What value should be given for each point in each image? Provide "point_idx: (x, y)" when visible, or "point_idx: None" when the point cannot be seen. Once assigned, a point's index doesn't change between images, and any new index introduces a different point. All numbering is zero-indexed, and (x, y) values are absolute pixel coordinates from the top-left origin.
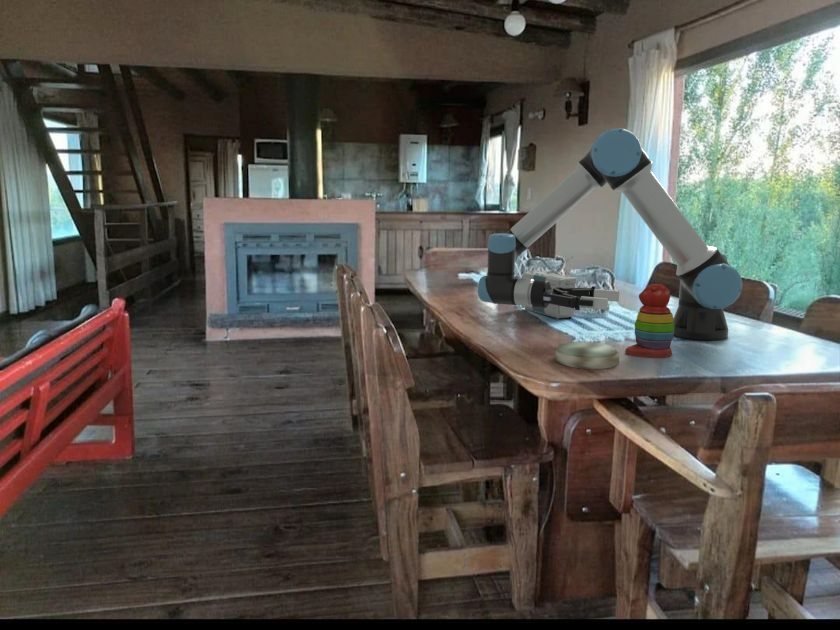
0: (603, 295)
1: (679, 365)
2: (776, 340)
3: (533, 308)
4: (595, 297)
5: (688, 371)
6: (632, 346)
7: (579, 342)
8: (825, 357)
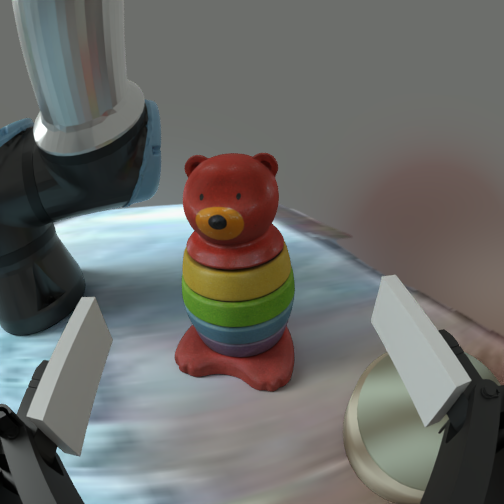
0: (79, 386)
1: (310, 289)
2: (78, 236)
3: None
4: (75, 439)
5: (338, 275)
6: (275, 362)
7: (396, 468)
8: (159, 208)
